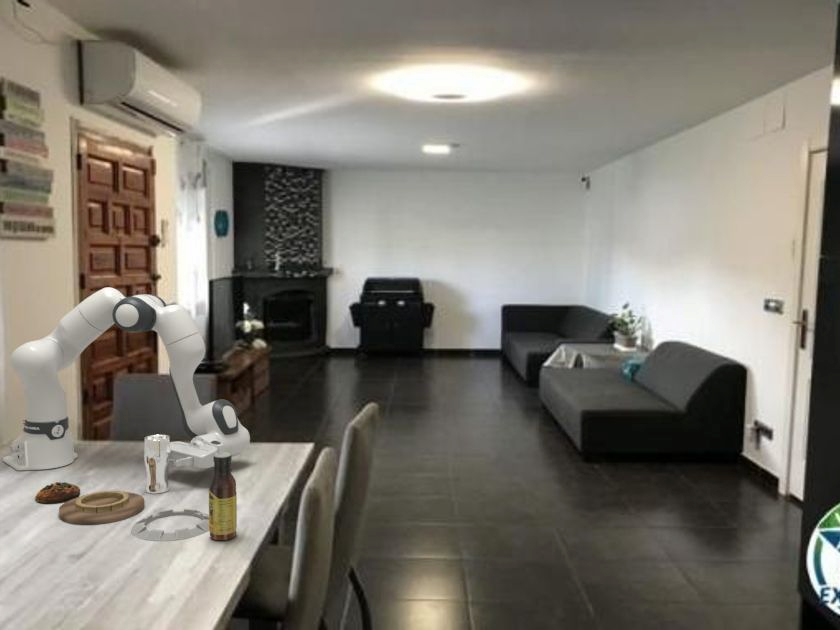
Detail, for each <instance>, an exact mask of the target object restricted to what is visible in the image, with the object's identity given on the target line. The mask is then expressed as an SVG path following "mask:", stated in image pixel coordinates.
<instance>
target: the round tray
mask: <svg viewBox="0 0 840 630" xmlns="http://www.w3.org/2000/svg"><path fill="white" fill-rule="evenodd" d="M145 507H146V506H145V498H144V497H143V496H142V495H141V494H138V493H135V492H129V491H120V490H102V491H96V492H91V493H87V494H84V495H81V496H78V497H76V498H74V499H72V500H70V501H67V502H63V504H61V505H60V506H59V508H58V517H59V519H60V520H61V521H62V522H64V523H67V524H71V525H79V526H80V525H81V526H82V525H83V526H92V525H93V526H94V525H103V524H104V525H105V524H110V523H115V522H119V521H120V522H121V521H122V520H123V521H124V520H127V519H130V518H132V517H134V516H136V515H138V514H140V513H141V512H142V511H143V510H144V509H145Z"/></svg>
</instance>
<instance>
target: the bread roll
mask: <svg viewBox="0 0 840 630" xmlns="http://www.w3.org/2000/svg"><path fill="white" fill-rule="evenodd" d="M80 494H81V489H80V487H79V486H78V485H76V484H73V483H69V482H67V481H64V482H60V481H59V482H57V481H56V482H54V483H51V484H49V485H48V484H47V485H46V486H44V487H42V488H41V489H40V490H39V491H38V492H37V493H36V494H35V496H34V498H35V500H36V502H37V503H40V504H41V503H42V504H62V503H63V504H64V503H66V502H67V501H70V500H72V499H74V498H77V497H80Z"/></svg>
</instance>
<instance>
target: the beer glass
mask: <svg viewBox="0 0 840 630" xmlns="http://www.w3.org/2000/svg"><path fill="white" fill-rule="evenodd" d="M170 439H171V438H170V436H169V435H167V434H152V435H147V436H145V437H144V442H143V460H144V466H145V471H146V477H147V479H146V481H147V482H146V487H145V491H146V493H148V494H153V495H154V494H155V495H158V494H163V493H166V492H168V491H169V490H170V485H169V480H168V475H169V467H170V464H171V463H170V462H171V460H170V452H171V451H170V442H171V440H170Z"/></svg>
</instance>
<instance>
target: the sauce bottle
mask: <svg viewBox="0 0 840 630" xmlns="http://www.w3.org/2000/svg"><path fill="white" fill-rule="evenodd" d="M232 458H233V457H232V455H231V453H228V452H221V453H217V454H214V459H213V461H214V467H213V476H212V478H211V481H210V484H209V487H208V514H209V531H208V532H209V536H210V538H211V539H212V540H214V541H228V540H231V539H233V538H234V537H235V536H236V535H237V525H238V524H237V523H238V522H237V521H238V520H237V519H238V517H237V515H238V513H237V507H238V506H237V505H238V504H237V503H238V502H237V501H238V500H237V498H238V497H237V483H236V482H237V481H236V479H235V477H234V475H233V474H232V467H231V466H232Z"/></svg>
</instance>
